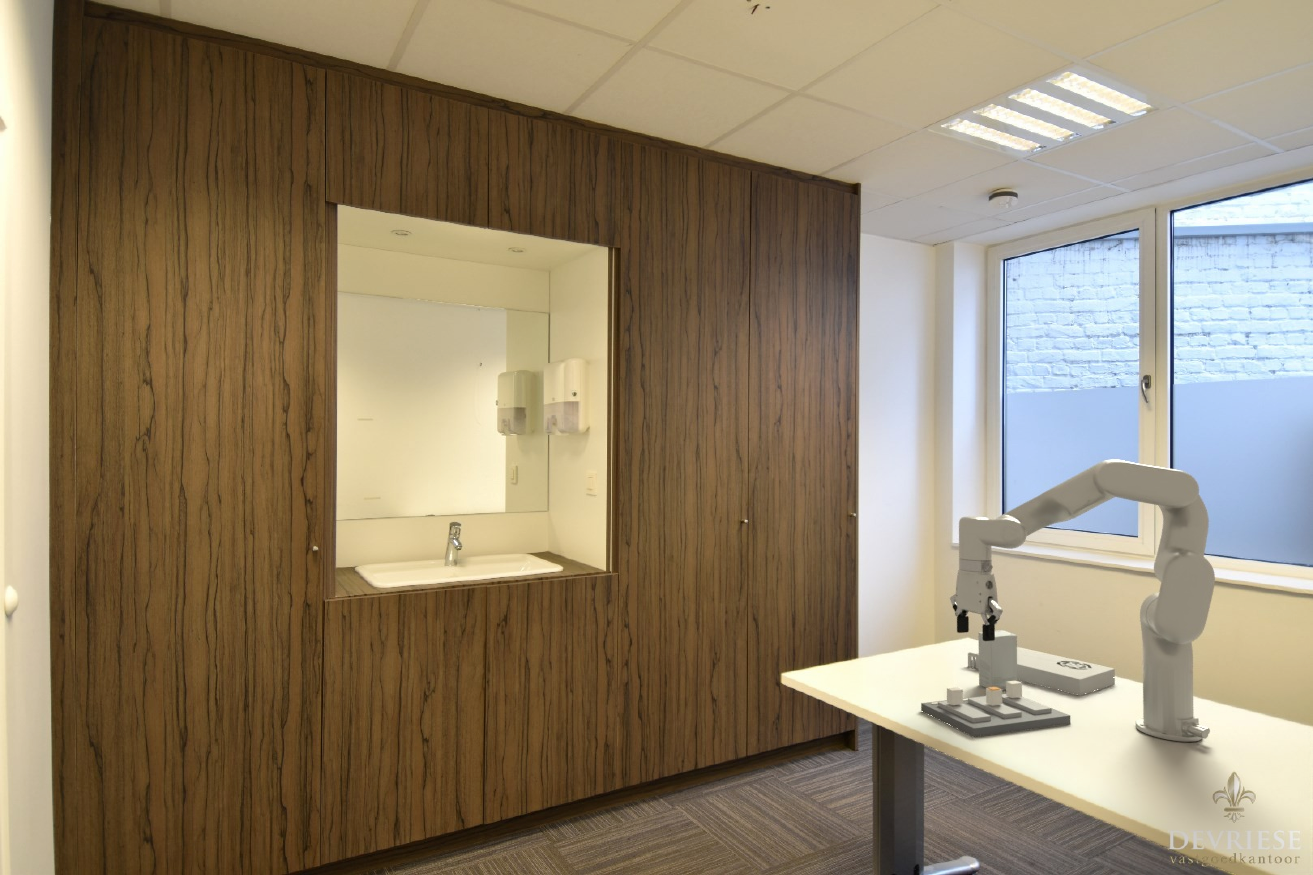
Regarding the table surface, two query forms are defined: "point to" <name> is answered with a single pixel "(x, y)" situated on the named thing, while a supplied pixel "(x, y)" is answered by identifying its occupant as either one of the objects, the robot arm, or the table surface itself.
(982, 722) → the breaker panel
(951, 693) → the breaker
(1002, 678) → the skincare box
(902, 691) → the table surface
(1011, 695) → the block
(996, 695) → the block
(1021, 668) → the power supply unit
